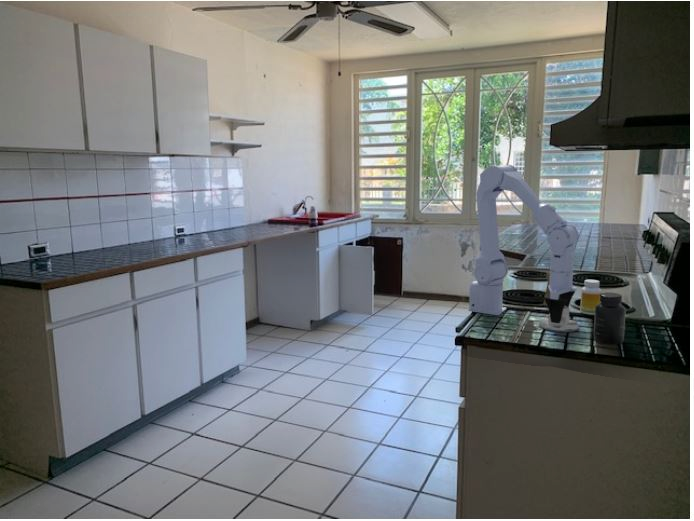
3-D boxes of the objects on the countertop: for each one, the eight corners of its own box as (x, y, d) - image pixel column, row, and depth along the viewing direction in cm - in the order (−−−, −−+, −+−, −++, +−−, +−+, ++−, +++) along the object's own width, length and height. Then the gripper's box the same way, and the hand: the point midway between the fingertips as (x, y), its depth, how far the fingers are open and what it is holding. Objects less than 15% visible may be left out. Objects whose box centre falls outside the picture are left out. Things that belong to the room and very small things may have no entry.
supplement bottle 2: (610, 334, 130) (614, 290, 128) (629, 343, 124) (633, 297, 121) (587, 337, 129) (590, 292, 127) (604, 346, 122) (608, 299, 120)
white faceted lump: (546, 323, 137) (547, 307, 136) (550, 319, 141) (551, 303, 140) (566, 326, 134) (567, 309, 133) (570, 322, 138) (571, 305, 137)
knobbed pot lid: (534, 328, 136) (535, 317, 136) (543, 318, 144) (544, 308, 144) (574, 334, 131) (574, 323, 130) (581, 324, 139) (582, 313, 138)
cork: (567, 307, 155) (569, 272, 153) (547, 307, 155) (549, 273, 153) (559, 302, 161) (561, 268, 159) (540, 302, 161) (542, 269, 159)
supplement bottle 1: (602, 315, 146) (604, 283, 144) (582, 314, 147) (584, 282, 145) (597, 310, 151) (599, 279, 149) (578, 309, 152) (580, 278, 150)
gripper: (571, 277, 127) (568, 328, 129) (582, 266, 138) (579, 314, 141) (542, 274, 131) (540, 324, 133) (555, 264, 142) (553, 310, 145)
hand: (558, 318), depth 137 cm, fingers open, 7 cm apart
